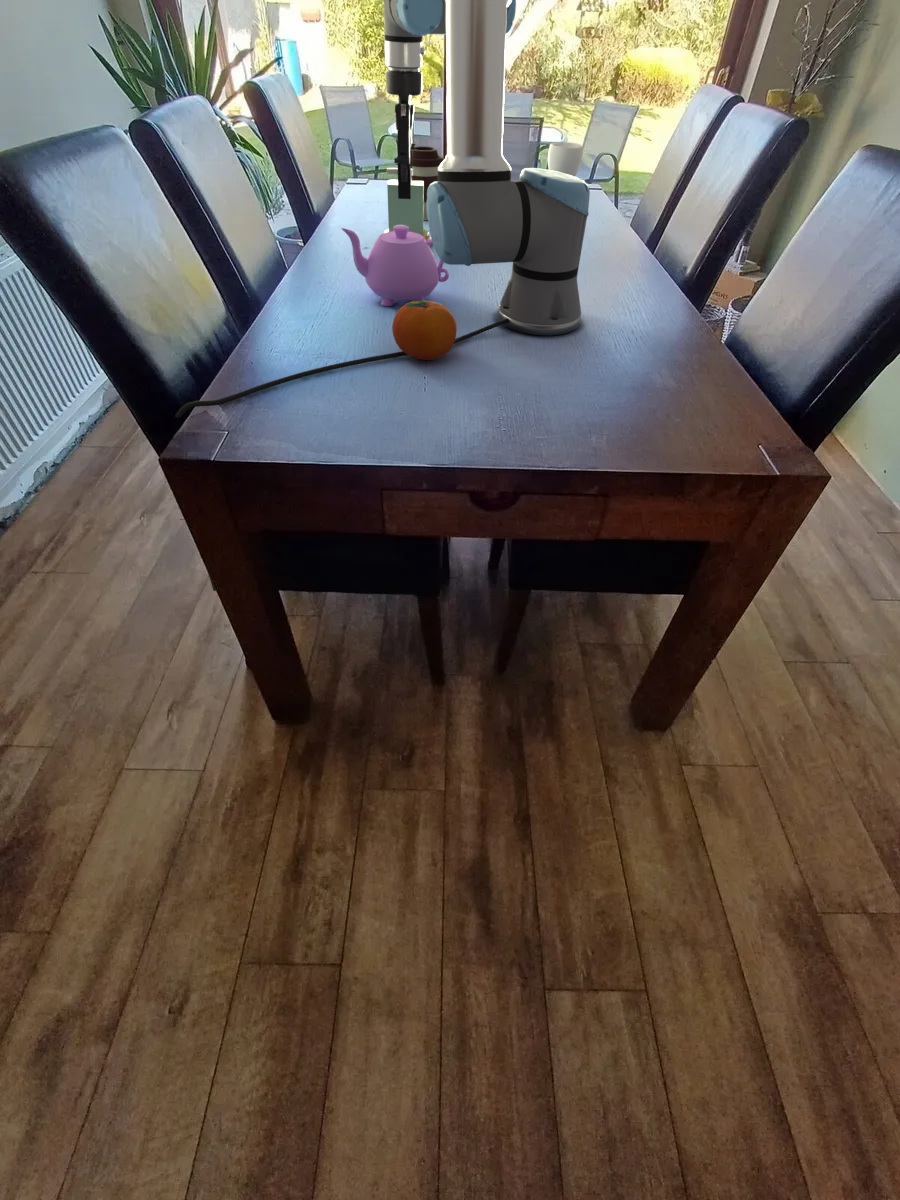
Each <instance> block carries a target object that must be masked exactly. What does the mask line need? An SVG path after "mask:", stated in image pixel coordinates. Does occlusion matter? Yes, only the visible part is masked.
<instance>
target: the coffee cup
mask: <svg viewBox="0 0 900 1200" xmlns="http://www.w3.org/2000/svg"><path fill="white" fill-rule="evenodd" d="M410 150H412V169H413V176H412V181H424V221H428V217H427V205H426V202H427V189H428V187H429V185H430V184H432V183H433V182H435V181H436V182H438V167H439V166H440V164H441V163H442V162H443V161H444V156H443V155H442V154H440V153H439V151H438V149H437V147H433V146H423V145H422V146H415V149H410Z"/></svg>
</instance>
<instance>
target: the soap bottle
mask: <svg viewBox="0 0 900 1200" xmlns="http://www.w3.org/2000/svg"><path fill="white" fill-rule="evenodd" d="M410 172H411V176H413V169H412V168H410ZM386 175H398V167H386ZM386 185H387V186H386V187H387V218H388V219H387V220H388V221H387V222H388V228H387V229H386V230H384V232H383V233H386V232H392V231H394V229H393V227H394V226H396V225H406V226H408V227H409V230H408V232H414V233H418V234H420V235H422V236H423V237H424V239H425V240H426V239H428V236H429V232H428V231H427V230H425V228H424V222H425V220H424V181H411V199H398V179H388V180H387V184H386Z"/></svg>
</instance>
